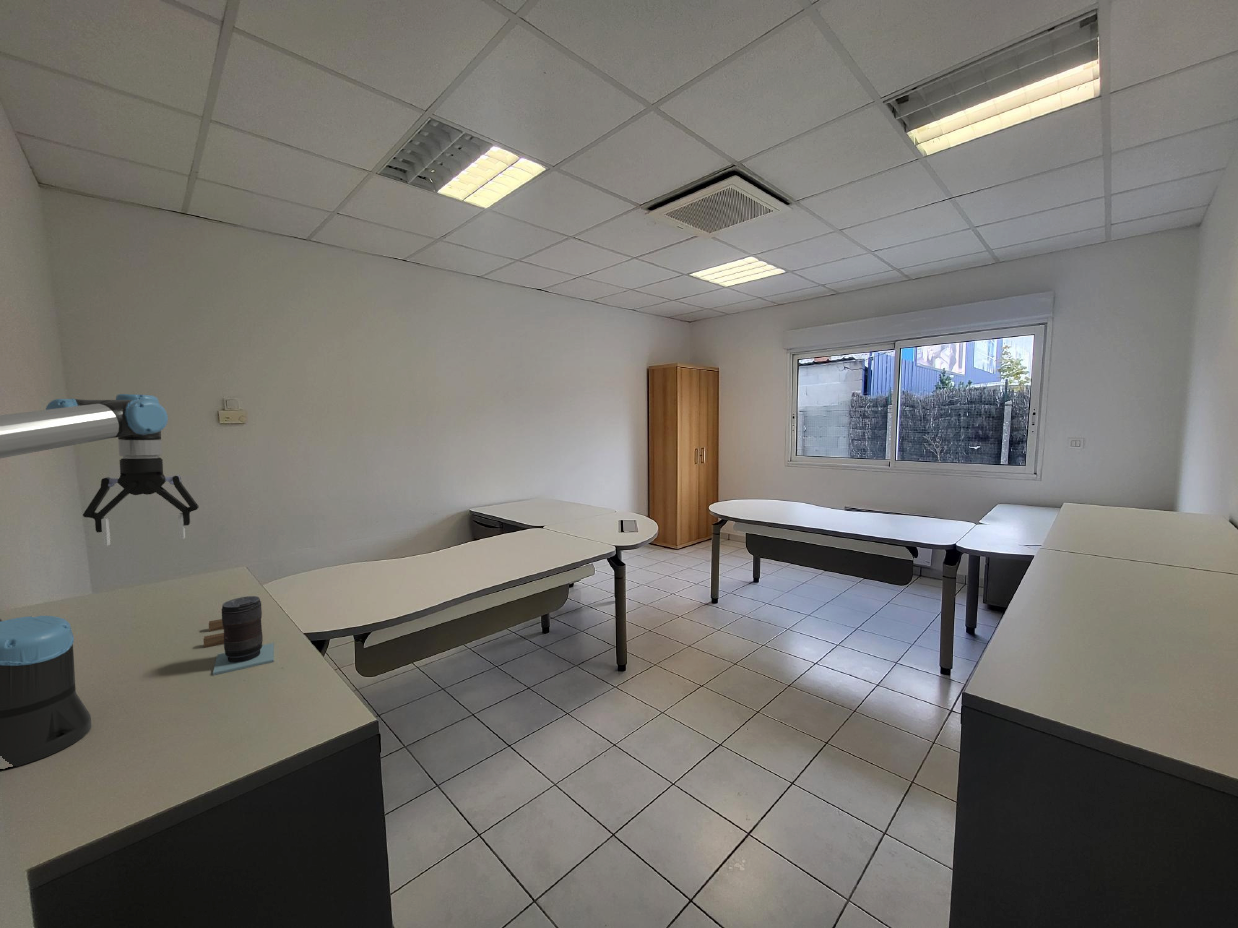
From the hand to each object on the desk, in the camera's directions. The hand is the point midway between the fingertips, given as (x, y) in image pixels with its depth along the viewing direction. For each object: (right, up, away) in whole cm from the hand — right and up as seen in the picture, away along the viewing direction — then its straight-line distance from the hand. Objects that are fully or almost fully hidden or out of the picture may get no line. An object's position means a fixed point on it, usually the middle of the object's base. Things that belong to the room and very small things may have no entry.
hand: (145, 541), depth 118 cm
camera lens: (+21, -31, +5) cm, 38 cm away
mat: (+21, -32, +5) cm, 38 cm away
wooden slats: (+5, -31, +21) cm, 37 cm away
